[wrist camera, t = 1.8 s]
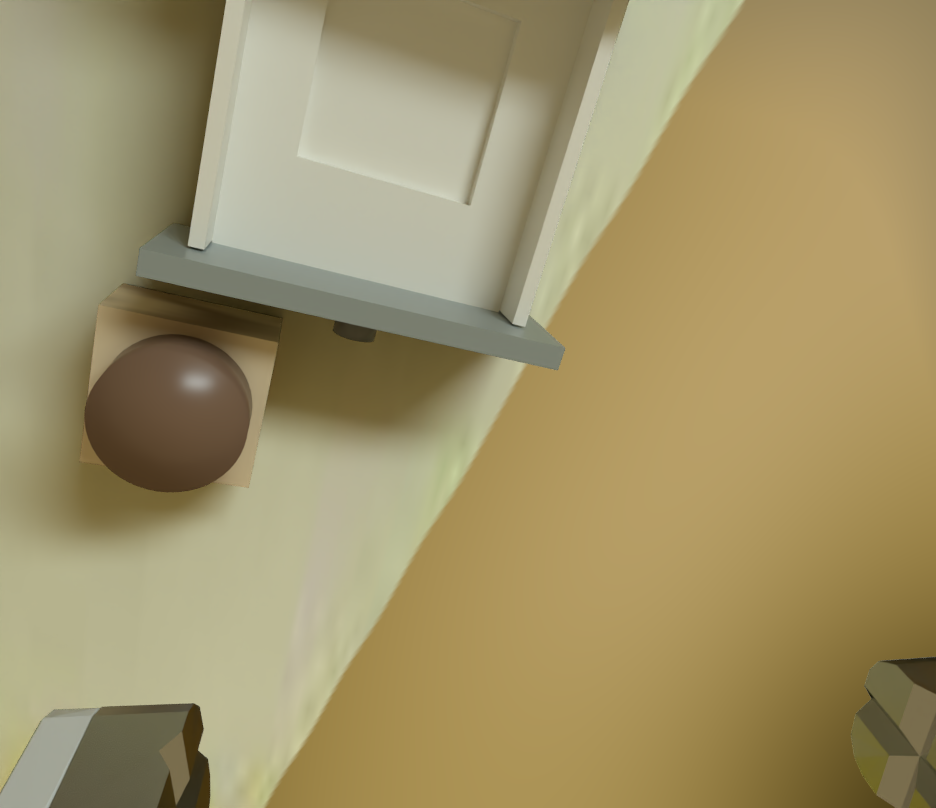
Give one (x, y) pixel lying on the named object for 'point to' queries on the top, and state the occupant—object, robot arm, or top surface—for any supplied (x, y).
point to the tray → (393, 163)
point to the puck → (170, 413)
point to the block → (225, 327)
